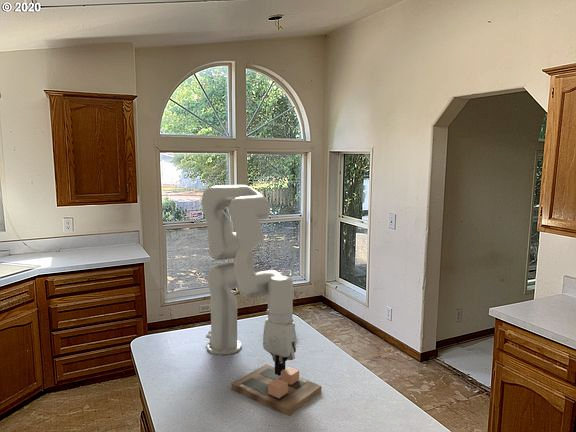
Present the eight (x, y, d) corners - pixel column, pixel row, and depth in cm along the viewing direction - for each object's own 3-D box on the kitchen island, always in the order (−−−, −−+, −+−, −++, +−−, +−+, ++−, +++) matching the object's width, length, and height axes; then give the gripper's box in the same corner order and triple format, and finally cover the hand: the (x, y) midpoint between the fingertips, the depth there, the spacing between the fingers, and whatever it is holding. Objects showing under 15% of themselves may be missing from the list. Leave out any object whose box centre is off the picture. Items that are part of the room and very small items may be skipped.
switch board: (231, 389, 131) (231, 383, 131) (266, 369, 143) (266, 363, 143) (288, 416, 117) (288, 409, 117) (321, 392, 130) (321, 385, 130)
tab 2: (280, 380, 132) (280, 371, 131) (288, 375, 135) (288, 366, 134) (291, 384, 129) (291, 375, 129) (299, 379, 132) (299, 370, 132)
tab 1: (268, 393, 124) (268, 383, 124) (277, 387, 127) (277, 378, 127) (279, 398, 122) (279, 388, 121) (287, 392, 125) (287, 382, 124)
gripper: (253, 314, 133) (254, 370, 136) (292, 325, 124) (291, 386, 127) (269, 308, 139) (269, 362, 142) (307, 318, 130) (306, 376, 132)
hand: (280, 373), depth 134 cm, fingers closed
